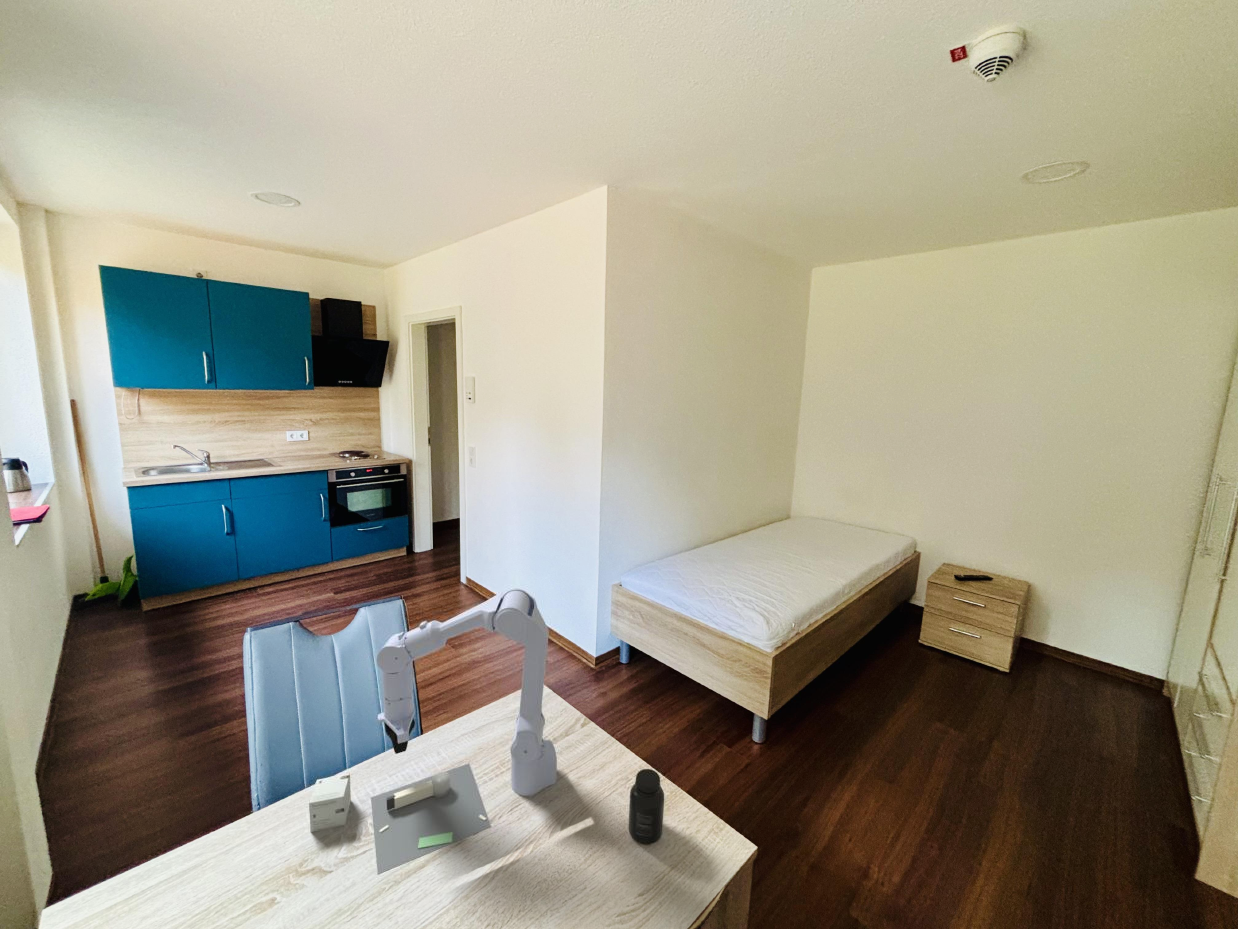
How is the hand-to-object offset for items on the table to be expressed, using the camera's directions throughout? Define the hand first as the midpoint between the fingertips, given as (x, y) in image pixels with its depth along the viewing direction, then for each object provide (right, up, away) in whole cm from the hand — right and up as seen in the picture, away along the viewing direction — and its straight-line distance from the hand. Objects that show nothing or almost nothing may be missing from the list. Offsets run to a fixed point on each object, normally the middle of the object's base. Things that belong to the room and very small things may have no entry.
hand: (400, 750), depth 104 cm
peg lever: (+5, -9, -2) cm, 10 cm away
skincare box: (-11, -10, -7) cm, 16 cm away
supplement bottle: (+52, -13, -6) cm, 53 cm away
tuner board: (+8, -10, -5) cm, 14 cm away
